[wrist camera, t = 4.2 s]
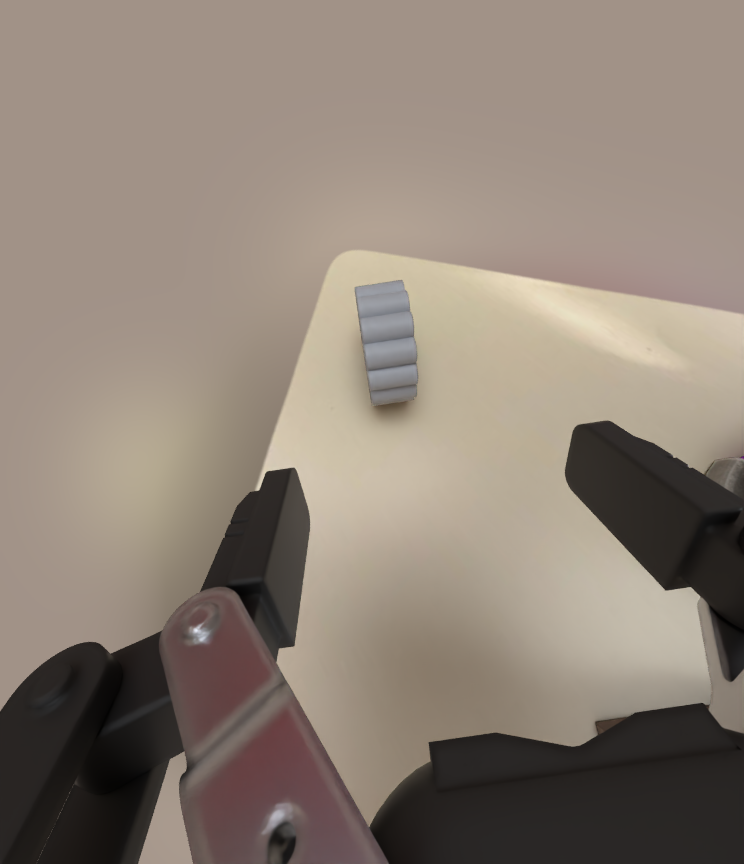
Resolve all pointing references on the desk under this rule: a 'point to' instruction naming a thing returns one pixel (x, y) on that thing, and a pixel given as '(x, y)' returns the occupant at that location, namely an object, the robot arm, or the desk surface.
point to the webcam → (729, 474)
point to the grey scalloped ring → (388, 342)
